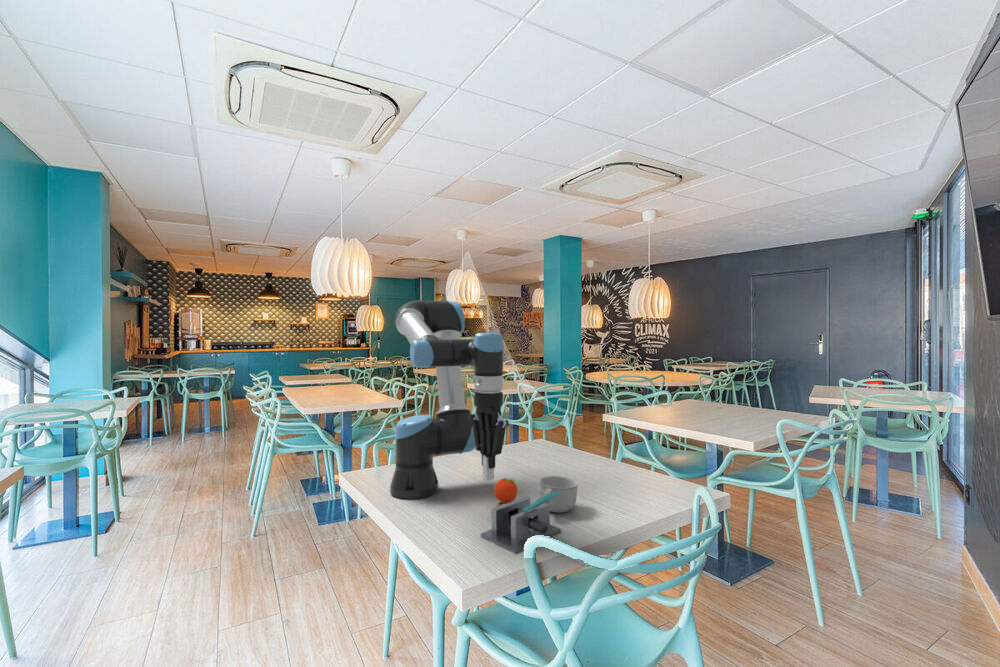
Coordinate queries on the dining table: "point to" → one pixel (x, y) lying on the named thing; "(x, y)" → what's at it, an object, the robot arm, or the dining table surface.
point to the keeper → (540, 501)
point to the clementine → (505, 490)
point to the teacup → (565, 489)
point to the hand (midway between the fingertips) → (488, 479)
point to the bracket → (517, 524)
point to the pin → (532, 523)
